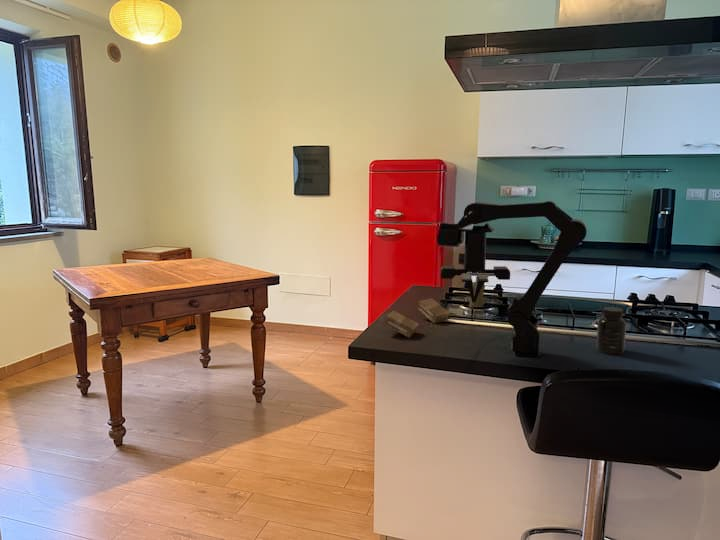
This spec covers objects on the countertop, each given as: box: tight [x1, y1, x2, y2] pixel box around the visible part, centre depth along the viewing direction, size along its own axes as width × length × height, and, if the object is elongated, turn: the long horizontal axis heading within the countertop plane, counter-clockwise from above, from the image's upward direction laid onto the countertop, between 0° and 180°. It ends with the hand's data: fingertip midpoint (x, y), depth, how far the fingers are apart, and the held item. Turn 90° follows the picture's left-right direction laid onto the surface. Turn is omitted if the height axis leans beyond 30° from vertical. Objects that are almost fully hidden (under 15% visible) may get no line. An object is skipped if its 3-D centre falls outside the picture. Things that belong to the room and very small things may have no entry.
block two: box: [416, 298, 450, 324], centre depth 159 cm, size 3×6×9 cm
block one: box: [383, 310, 420, 339], centre depth 145 cm, size 3×6×9 cm
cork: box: [468, 281, 486, 308], centre depth 172 cm, size 6×6×11 cm
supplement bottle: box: [596, 306, 627, 356], centre depth 130 cm, size 7×7×12 cm
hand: (473, 302), depth 135 cm, fingers closed
